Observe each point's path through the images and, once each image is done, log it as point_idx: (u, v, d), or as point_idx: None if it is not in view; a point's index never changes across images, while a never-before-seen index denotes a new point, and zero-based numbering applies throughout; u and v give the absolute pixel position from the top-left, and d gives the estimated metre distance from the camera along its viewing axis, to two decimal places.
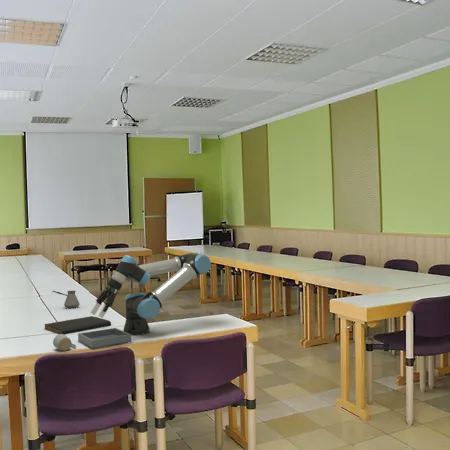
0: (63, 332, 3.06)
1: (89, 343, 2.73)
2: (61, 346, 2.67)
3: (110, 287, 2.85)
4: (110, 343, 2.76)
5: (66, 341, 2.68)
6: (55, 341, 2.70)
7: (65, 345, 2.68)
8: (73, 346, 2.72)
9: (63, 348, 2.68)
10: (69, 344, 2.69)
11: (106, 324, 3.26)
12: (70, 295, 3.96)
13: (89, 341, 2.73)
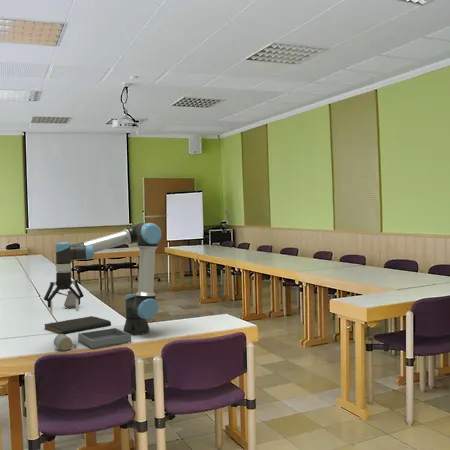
0: (63, 332, 3.07)
1: (89, 343, 2.73)
2: (62, 346, 2.67)
3: None
4: (110, 343, 2.76)
5: (67, 341, 2.69)
6: (56, 341, 2.70)
7: (65, 345, 2.68)
8: (74, 346, 2.72)
9: (64, 348, 2.68)
10: (70, 344, 2.70)
11: (106, 324, 3.26)
12: (70, 295, 3.96)
13: (89, 341, 2.73)
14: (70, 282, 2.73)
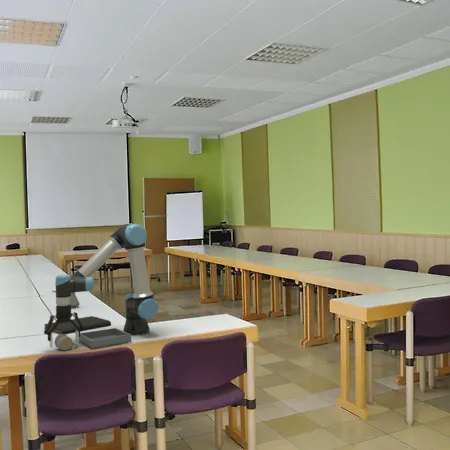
0: (63, 332, 3.07)
1: (89, 343, 2.73)
2: (62, 346, 2.67)
3: None
4: (110, 343, 2.76)
5: (67, 341, 2.69)
6: (56, 341, 2.70)
7: (66, 344, 2.69)
8: (74, 346, 2.72)
9: (64, 348, 2.68)
10: (70, 344, 2.70)
11: (106, 324, 3.26)
12: None
13: (89, 341, 2.73)
14: (70, 315, 2.73)
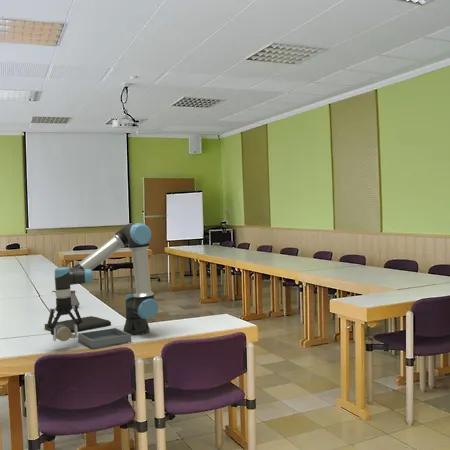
0: None
1: (89, 343, 2.73)
2: (61, 336, 2.67)
3: None
4: (110, 343, 2.76)
5: (66, 331, 2.68)
6: None
7: (64, 335, 2.68)
8: (73, 336, 2.72)
9: (63, 338, 2.68)
10: (69, 334, 2.69)
11: (106, 324, 3.27)
12: None
13: (89, 341, 2.73)
14: (70, 307, 2.73)
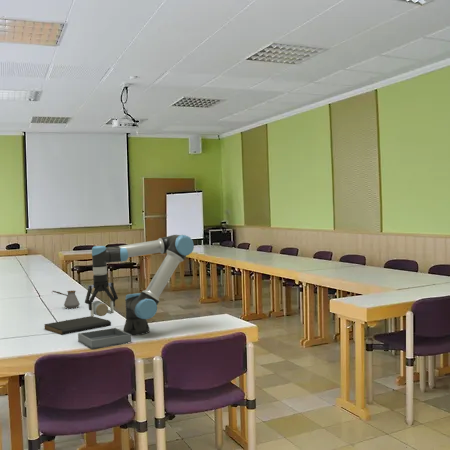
0: (64, 332, 3.07)
1: (89, 343, 2.73)
2: (98, 311, 2.79)
3: None
4: (110, 343, 2.76)
5: (103, 307, 2.81)
6: None
7: (102, 310, 2.80)
8: (109, 312, 2.84)
9: (100, 313, 2.80)
10: (106, 310, 2.82)
11: (106, 324, 3.27)
12: (70, 295, 3.96)
13: (89, 341, 2.73)
14: (107, 284, 2.85)
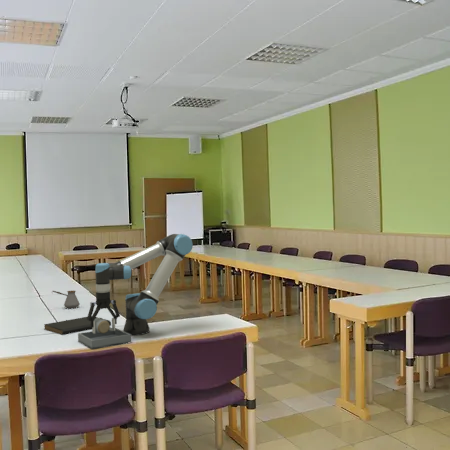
0: (64, 332, 3.07)
1: (89, 343, 2.73)
2: (100, 329, 2.80)
3: None
4: (110, 343, 2.76)
5: (105, 324, 2.81)
6: None
7: (103, 328, 2.81)
8: (111, 329, 2.85)
9: (102, 331, 2.80)
10: (107, 327, 2.82)
11: None
12: (70, 295, 3.96)
13: (89, 341, 2.73)
14: (109, 301, 2.86)
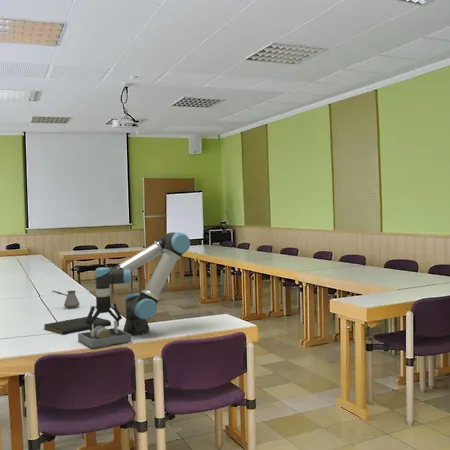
0: (64, 332, 3.07)
1: (89, 343, 2.73)
2: (101, 337, 2.80)
3: None
4: (110, 343, 2.76)
5: (105, 332, 2.82)
6: (95, 332, 2.83)
7: (104, 336, 2.81)
8: None
9: None
10: (108, 335, 2.83)
11: (106, 324, 3.27)
12: (70, 295, 3.96)
13: (89, 341, 2.73)
14: (109, 305, 2.86)
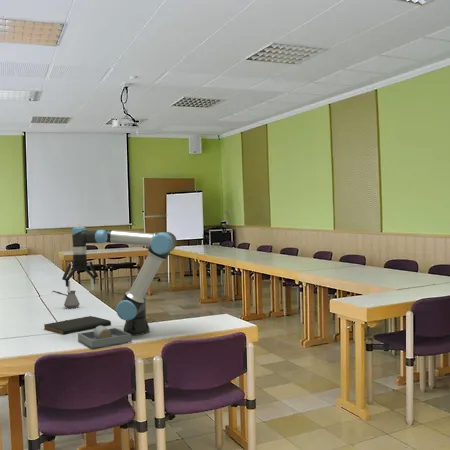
0: (65, 332, 3.07)
1: (89, 343, 2.73)
2: (101, 337, 2.80)
3: None
4: (110, 343, 2.76)
5: (106, 332, 2.82)
6: (96, 332, 2.83)
7: (105, 336, 2.82)
8: None
9: None
10: (109, 335, 2.83)
11: (106, 324, 3.28)
12: (70, 295, 3.96)
13: (89, 341, 2.73)
14: (86, 263, 2.98)
